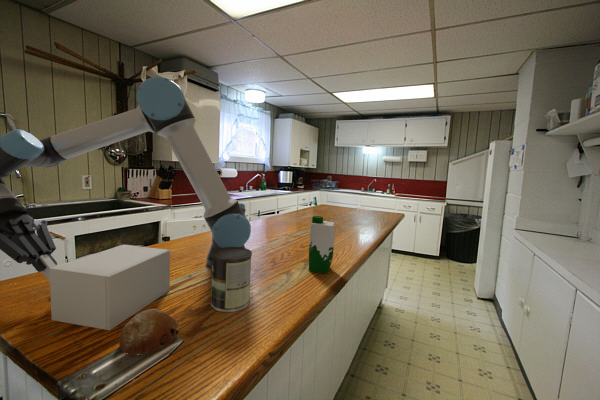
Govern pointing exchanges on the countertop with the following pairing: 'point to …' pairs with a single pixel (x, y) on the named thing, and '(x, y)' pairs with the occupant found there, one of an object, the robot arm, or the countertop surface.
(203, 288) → the countertop surface
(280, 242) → the countertop surface
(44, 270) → the robot arm
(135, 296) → the plain grey box
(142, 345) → the bread roll
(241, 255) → the coffee can
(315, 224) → the milk carton
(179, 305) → the countertop surface
